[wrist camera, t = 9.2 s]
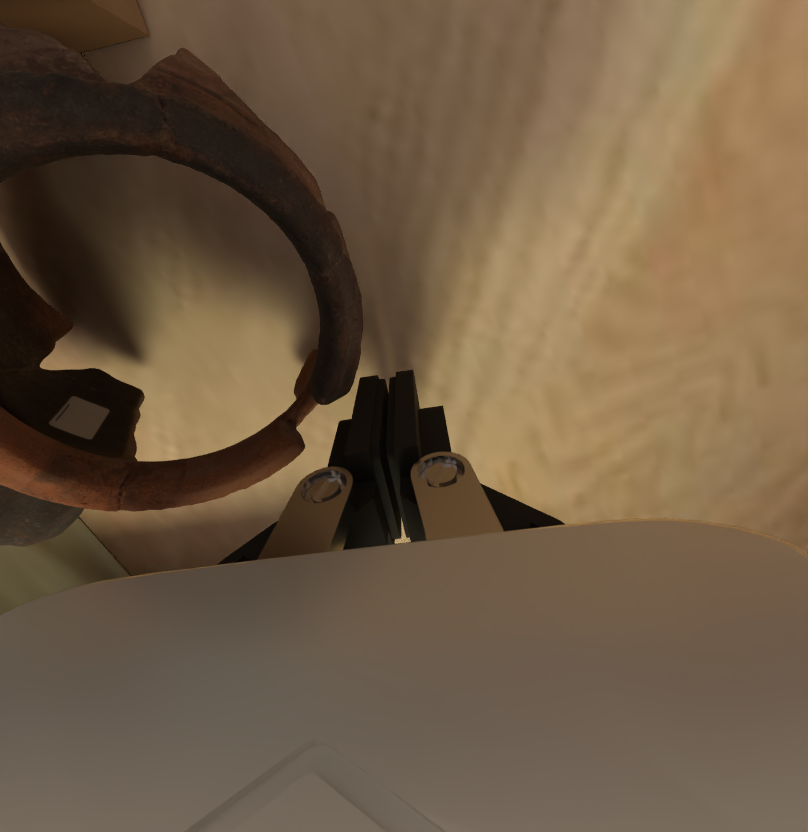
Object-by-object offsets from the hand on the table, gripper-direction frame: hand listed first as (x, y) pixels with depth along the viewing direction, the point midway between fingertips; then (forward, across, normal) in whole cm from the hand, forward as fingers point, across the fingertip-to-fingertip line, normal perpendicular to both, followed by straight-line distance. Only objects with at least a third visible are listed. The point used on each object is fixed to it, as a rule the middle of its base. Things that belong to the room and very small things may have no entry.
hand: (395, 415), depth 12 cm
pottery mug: (+2, +6, -4) cm, 8 cm away
